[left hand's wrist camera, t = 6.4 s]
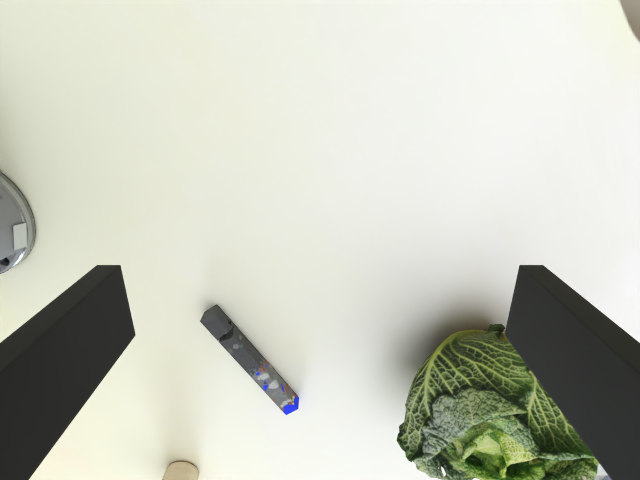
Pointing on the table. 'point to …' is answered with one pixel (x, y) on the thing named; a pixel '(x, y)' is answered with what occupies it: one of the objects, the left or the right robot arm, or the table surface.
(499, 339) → the vegetable
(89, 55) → the table surface
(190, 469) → the candle
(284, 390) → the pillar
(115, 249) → the table surface
